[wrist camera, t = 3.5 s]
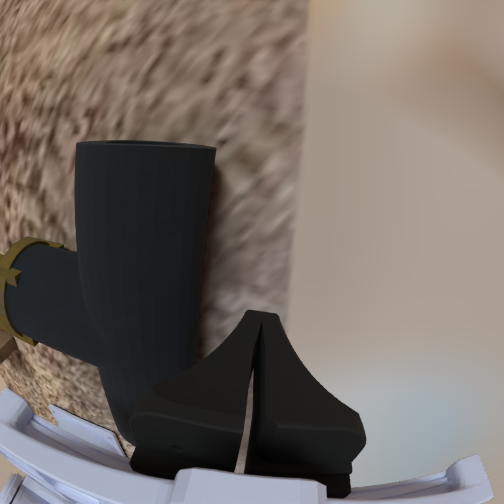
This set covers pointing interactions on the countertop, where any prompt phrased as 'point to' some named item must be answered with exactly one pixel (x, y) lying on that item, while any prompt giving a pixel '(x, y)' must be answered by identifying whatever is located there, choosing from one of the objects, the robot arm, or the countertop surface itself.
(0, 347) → the stop rail
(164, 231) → the pipe connector
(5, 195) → the countertop surface
